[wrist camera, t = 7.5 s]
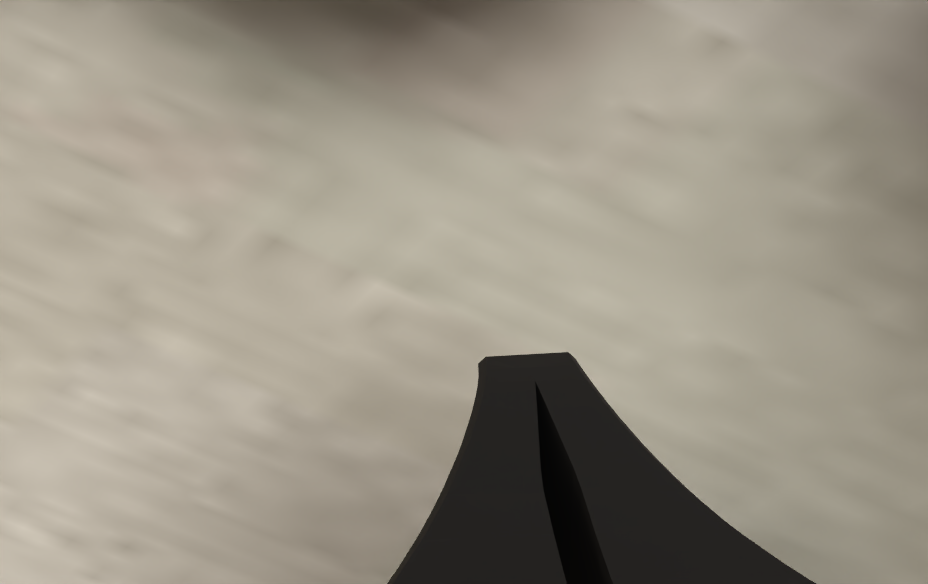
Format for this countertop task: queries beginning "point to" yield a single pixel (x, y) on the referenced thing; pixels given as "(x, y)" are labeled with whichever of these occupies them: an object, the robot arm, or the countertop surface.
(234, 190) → the countertop surface
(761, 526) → the countertop surface
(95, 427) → the countertop surface
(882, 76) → the countertop surface
